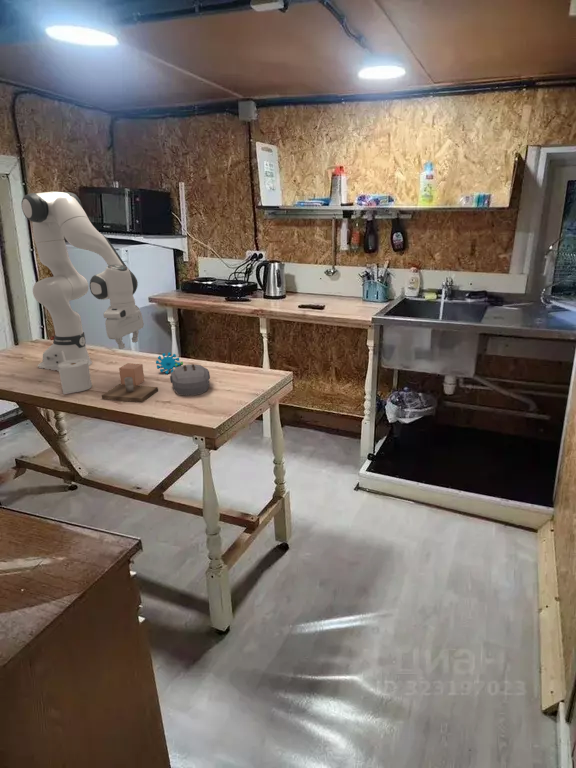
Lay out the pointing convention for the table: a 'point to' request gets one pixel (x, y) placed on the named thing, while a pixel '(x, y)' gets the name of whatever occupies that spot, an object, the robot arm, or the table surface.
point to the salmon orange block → (132, 373)
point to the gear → (168, 363)
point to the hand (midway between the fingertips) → (128, 345)
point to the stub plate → (130, 392)
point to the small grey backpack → (190, 379)
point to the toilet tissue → (74, 375)
